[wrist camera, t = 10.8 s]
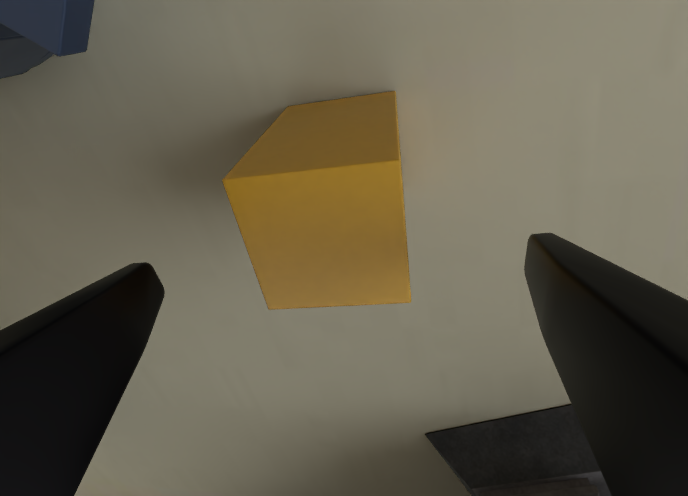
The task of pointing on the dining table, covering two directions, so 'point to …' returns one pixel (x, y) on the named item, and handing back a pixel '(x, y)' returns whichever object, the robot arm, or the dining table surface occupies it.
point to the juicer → (523, 456)
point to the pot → (41, 31)
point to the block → (326, 205)
